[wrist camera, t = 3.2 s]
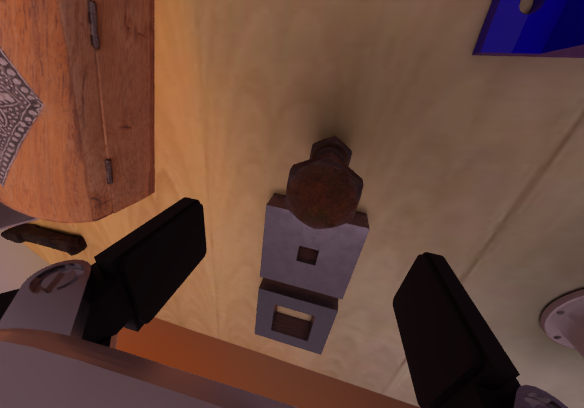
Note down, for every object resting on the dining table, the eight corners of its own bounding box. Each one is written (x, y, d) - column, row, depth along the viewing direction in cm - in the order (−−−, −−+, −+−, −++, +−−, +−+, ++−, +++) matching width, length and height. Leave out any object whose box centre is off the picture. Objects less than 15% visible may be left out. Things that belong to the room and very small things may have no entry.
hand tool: (84, 234, 48) (60, 246, 44) (89, 247, 50) (67, 260, 46) (17, 214, 50) (-11, 224, 46) (25, 227, 52) (-2, 238, 48)
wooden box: (28, -88, 23) (-312, -289, 11) (162, -32, 23) (-38, -175, 11) (74, 157, 38) (-51, 185, 26) (156, 193, 38) (68, 239, 26)
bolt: (344, 174, 29) (346, 239, 16) (308, 167, 29) (281, 224, 16) (356, 131, 26) (371, 165, 13) (317, 123, 26) (291, 149, 13)
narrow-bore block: (366, 213, 30) (369, 228, 27) (342, 280, 37) (342, 299, 34) (274, 193, 32) (266, 204, 29) (267, 260, 39) (259, 276, 35)
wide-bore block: (338, 291, 39) (337, 310, 35) (322, 334, 45) (320, 354, 42) (266, 271, 40) (258, 288, 37) (261, 316, 47) (254, 333, 44)
